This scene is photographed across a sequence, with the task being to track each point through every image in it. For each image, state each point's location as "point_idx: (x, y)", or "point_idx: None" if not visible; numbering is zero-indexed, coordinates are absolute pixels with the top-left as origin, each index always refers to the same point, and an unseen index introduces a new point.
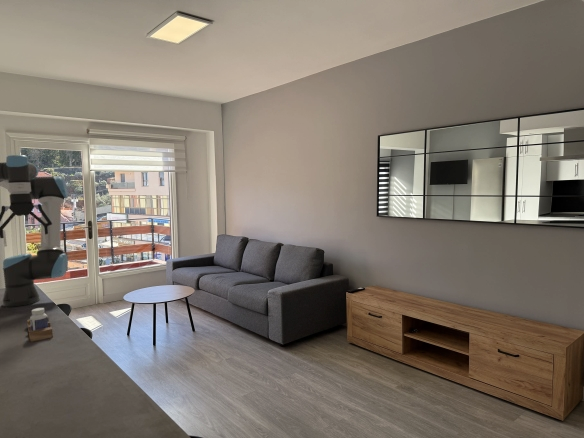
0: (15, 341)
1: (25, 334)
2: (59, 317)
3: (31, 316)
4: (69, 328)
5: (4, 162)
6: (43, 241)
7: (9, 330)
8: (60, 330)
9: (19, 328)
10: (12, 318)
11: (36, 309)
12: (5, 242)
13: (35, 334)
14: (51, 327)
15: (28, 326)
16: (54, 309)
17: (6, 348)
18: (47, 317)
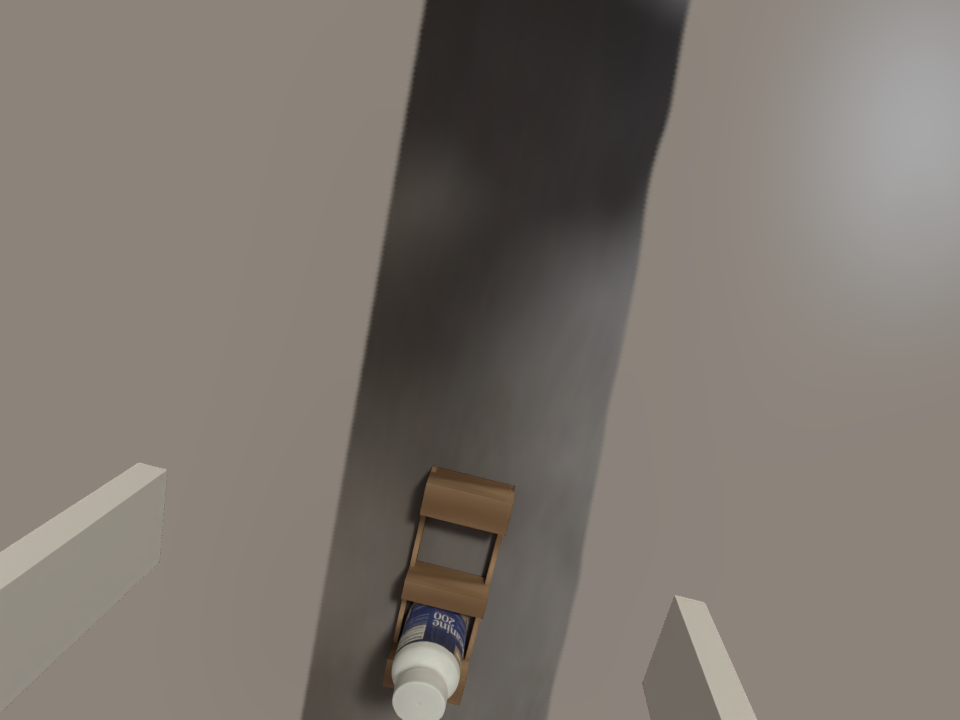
0: (352, 609)
1: (399, 558)
2: (584, 436)
3: (395, 676)
4: (545, 635)
5: None
6: (652, 678)
7: (364, 442)
8: (511, 629)
9: (401, 450)
10: (418, 227)
11: (413, 700)
12: (107, 597)
13: None
14: (464, 686)
15: (402, 592)
16: (632, 242)
17: (315, 655)
18: (503, 528)
